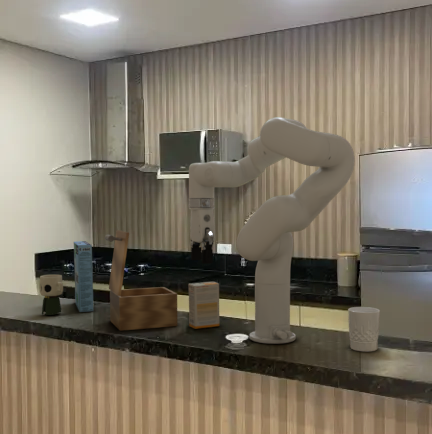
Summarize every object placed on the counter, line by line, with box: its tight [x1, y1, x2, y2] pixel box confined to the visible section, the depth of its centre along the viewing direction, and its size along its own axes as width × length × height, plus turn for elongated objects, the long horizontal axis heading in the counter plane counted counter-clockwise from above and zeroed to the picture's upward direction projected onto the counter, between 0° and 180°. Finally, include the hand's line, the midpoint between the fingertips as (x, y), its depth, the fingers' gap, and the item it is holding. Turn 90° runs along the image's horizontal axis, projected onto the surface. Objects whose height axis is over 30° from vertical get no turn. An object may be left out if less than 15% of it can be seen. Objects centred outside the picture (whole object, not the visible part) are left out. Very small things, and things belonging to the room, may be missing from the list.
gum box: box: [73, 240, 94, 313], centre depth 212 cm, size 19×5×23 cm, turn 17°
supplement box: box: [188, 281, 221, 330], centre depth 180 cm, size 8×5×13 cm, turn 115°
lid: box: [104, 229, 130, 296], centre depth 180 cm, size 19×15×5 cm
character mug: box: [39, 274, 64, 316], centre depth 199 cm, size 11×7×13 cm, turn 56°
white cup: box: [347, 306, 381, 353], centre depth 153 cm, size 8×8×10 cm
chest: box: [109, 286, 178, 332], centre depth 184 cm, size 18×15×10 cm
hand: (201, 261), depth 179 cm, fingers open, 9 cm apart
